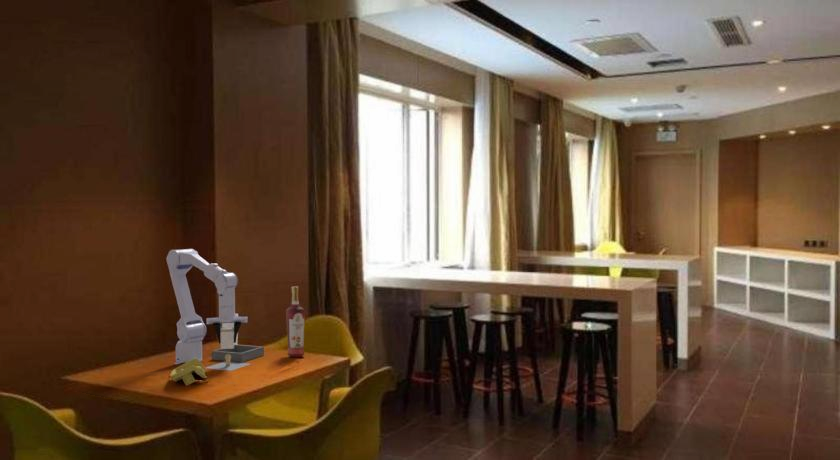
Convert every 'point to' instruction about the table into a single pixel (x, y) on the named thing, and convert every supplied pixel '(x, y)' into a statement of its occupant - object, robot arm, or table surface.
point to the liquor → (295, 327)
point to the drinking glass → (229, 325)
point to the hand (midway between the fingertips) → (227, 342)
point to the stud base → (232, 366)
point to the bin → (238, 353)
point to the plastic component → (188, 371)
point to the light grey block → (227, 338)
